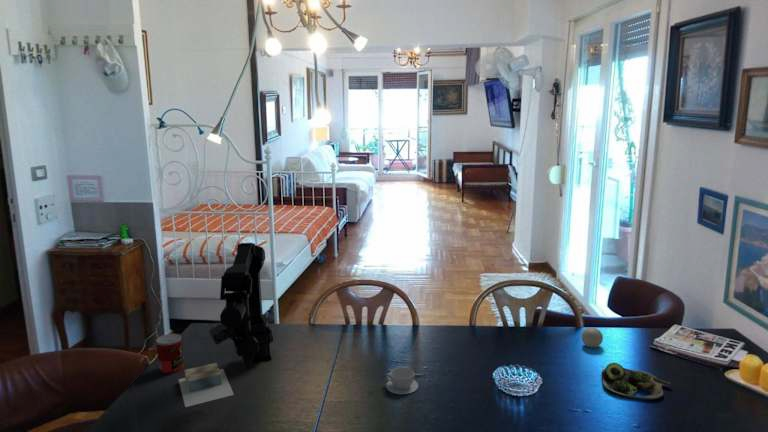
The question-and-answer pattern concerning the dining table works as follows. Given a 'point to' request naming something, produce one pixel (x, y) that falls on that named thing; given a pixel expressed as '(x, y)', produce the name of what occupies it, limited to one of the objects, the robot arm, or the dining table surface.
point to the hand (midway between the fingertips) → (243, 362)
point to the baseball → (592, 337)
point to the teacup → (401, 381)
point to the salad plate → (631, 382)
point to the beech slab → (203, 377)
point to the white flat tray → (205, 392)
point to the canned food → (170, 353)
